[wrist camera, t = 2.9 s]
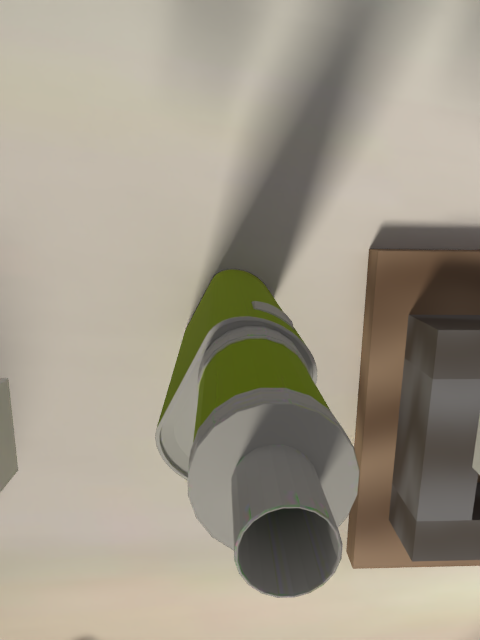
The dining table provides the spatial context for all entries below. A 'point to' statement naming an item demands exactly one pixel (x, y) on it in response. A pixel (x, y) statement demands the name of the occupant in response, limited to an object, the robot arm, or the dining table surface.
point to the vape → (258, 439)
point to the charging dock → (383, 379)
